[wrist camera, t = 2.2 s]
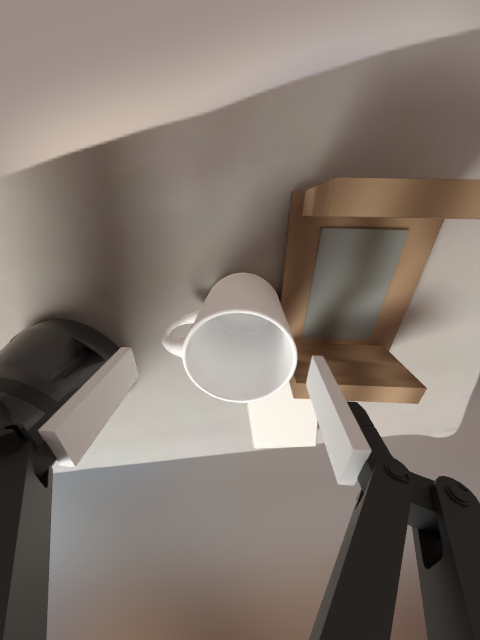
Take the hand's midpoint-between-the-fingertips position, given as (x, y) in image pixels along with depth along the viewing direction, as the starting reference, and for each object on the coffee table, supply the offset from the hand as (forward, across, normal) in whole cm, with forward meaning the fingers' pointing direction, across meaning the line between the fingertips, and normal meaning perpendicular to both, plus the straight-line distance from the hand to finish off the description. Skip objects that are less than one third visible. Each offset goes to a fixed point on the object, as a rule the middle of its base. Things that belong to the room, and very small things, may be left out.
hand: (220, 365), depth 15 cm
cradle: (+11, +12, +3) cm, 17 cm away
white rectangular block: (+11, +8, -16) cm, 21 cm away
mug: (+11, 0, 0) cm, 11 cm away
